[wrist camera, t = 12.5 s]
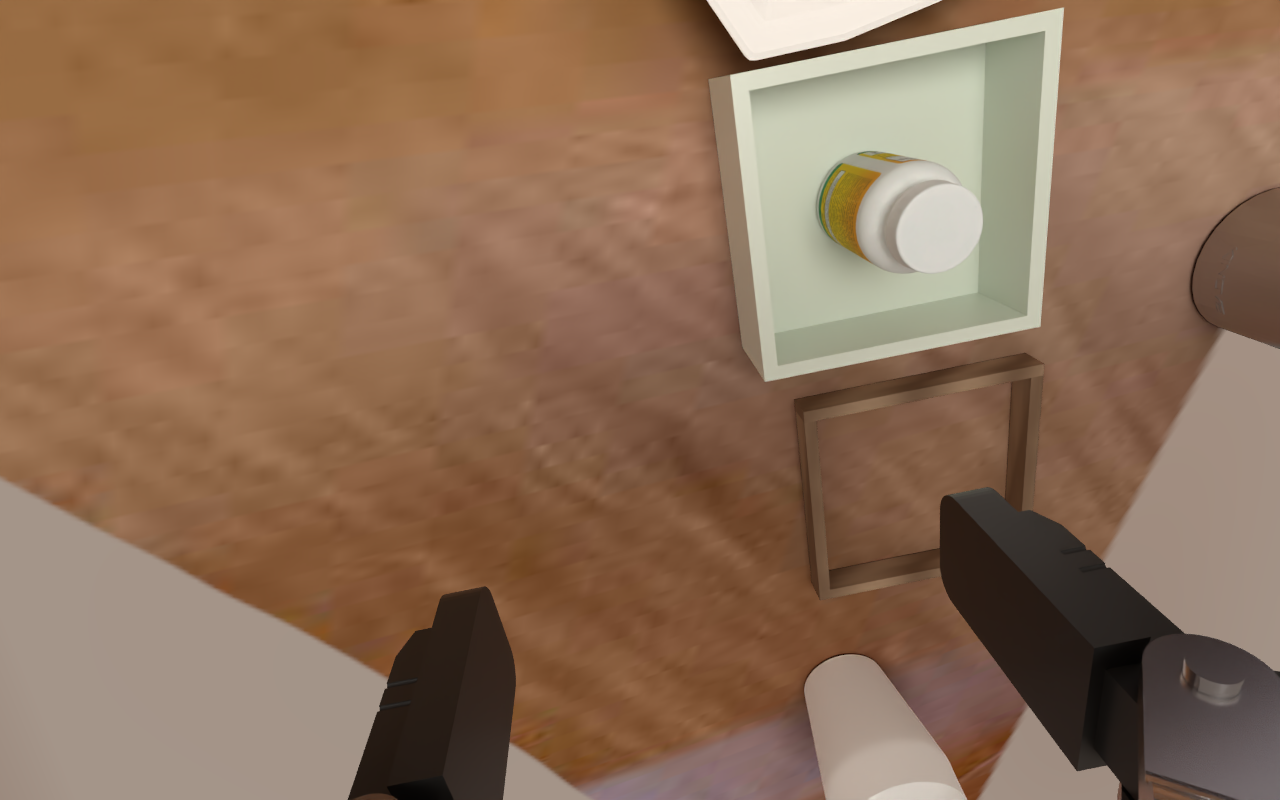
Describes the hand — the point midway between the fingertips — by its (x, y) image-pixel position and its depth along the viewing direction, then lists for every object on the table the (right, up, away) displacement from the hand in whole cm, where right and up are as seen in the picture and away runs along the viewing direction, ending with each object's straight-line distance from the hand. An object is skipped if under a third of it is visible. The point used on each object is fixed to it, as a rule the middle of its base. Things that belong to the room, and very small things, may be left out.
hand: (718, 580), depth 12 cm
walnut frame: (+18, -2, +36) cm, 40 cm away
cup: (+15, -20, +44) cm, 51 cm away
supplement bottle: (+11, +15, +27) cm, 33 cm away
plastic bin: (+11, +15, +27) cm, 33 cm away
